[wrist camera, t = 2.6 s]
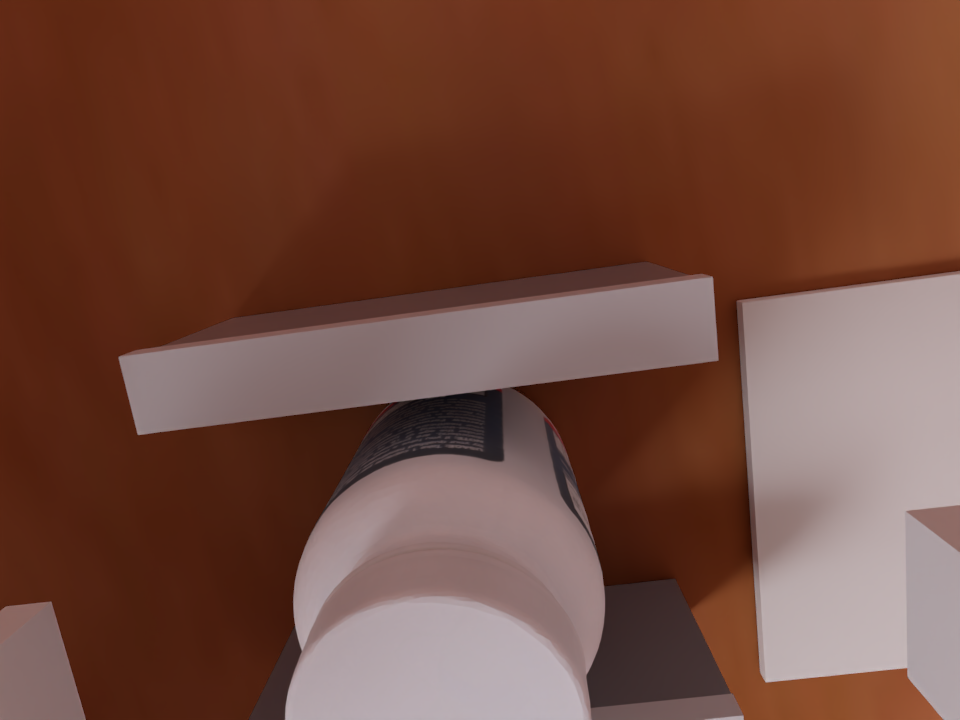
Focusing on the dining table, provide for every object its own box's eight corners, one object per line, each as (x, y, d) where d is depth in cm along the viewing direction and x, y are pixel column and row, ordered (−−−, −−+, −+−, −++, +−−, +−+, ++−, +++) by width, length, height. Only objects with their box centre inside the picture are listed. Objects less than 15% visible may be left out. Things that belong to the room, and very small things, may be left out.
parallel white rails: (306, 663, 19) (236, 828, 14) (231, 314, 17) (117, 357, 12) (679, 623, 18) (748, 779, 13) (646, 256, 16) (712, 277, 11)
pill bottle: (322, 499, 18) (152, 773, 9) (432, 331, 17) (363, 459, 8) (493, 605, 18) (490, 963, 10) (610, 449, 17) (726, 689, 9)
